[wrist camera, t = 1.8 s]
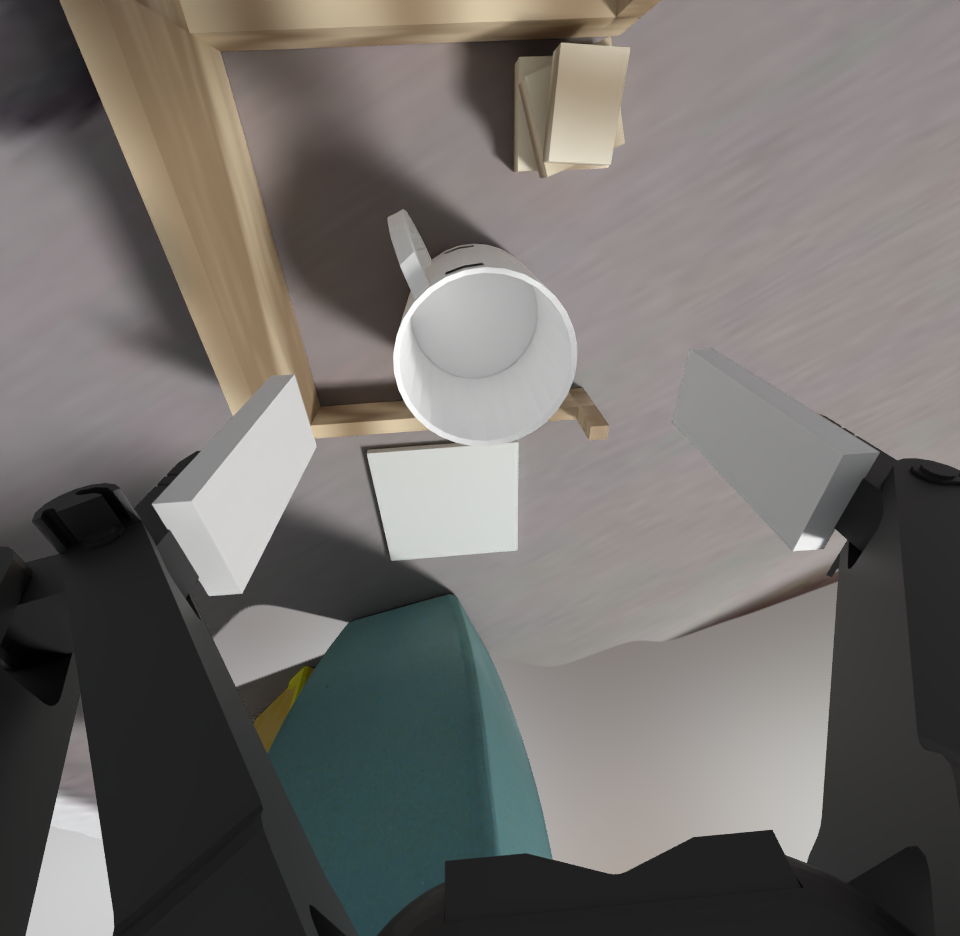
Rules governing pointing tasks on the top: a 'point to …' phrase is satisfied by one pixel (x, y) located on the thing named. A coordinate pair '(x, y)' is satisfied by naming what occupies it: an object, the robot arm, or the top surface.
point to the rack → (228, 168)
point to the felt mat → (447, 498)
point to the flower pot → (406, 759)
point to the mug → (478, 342)
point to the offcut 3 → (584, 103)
